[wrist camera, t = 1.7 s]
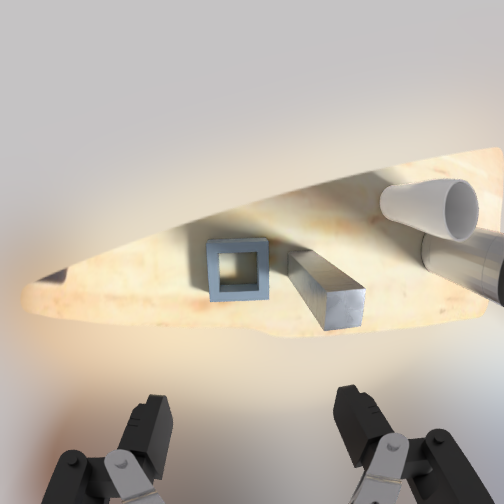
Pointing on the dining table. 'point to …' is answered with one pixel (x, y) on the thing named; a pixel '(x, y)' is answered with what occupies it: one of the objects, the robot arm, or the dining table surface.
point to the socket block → (238, 290)
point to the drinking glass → (433, 207)
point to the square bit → (326, 290)
